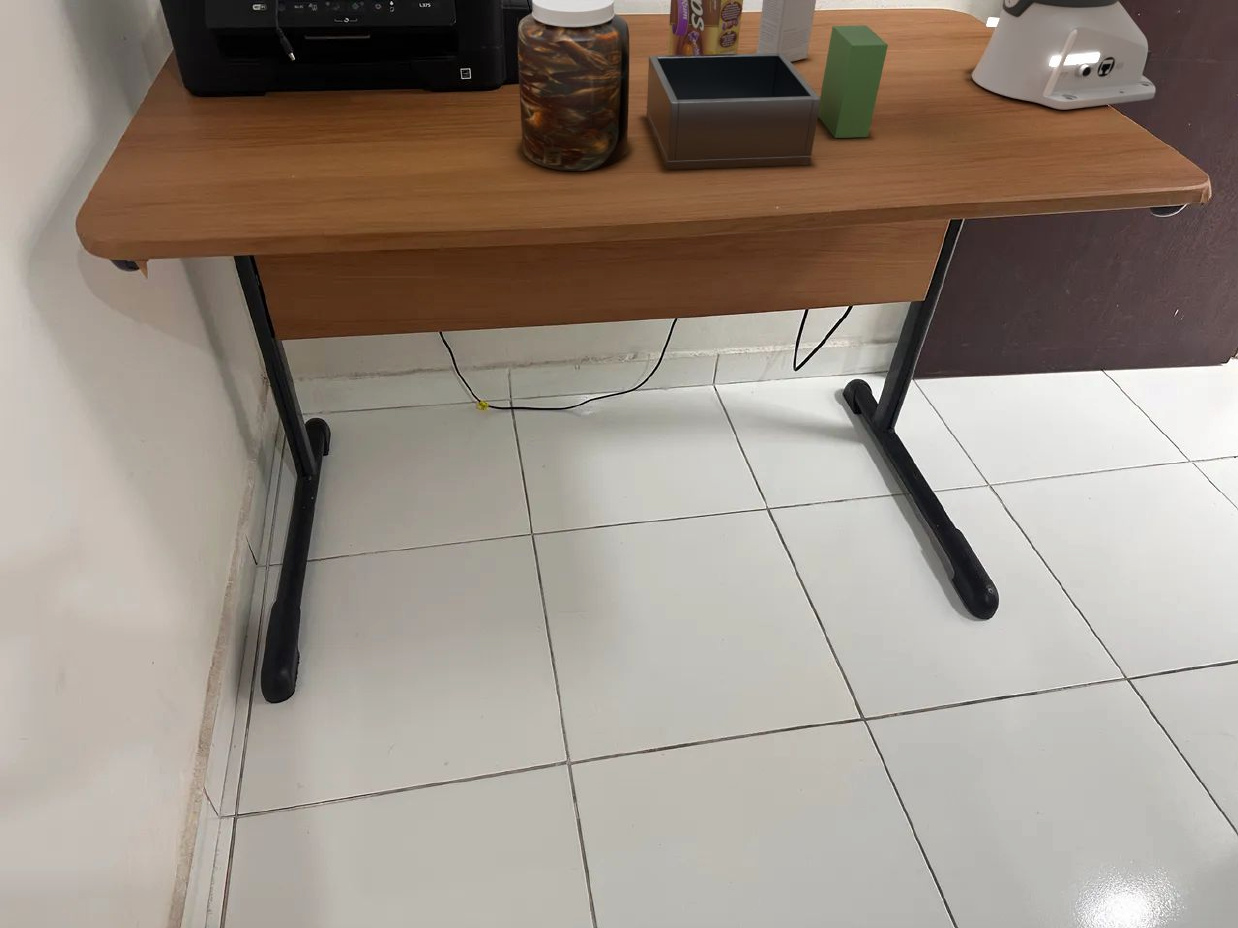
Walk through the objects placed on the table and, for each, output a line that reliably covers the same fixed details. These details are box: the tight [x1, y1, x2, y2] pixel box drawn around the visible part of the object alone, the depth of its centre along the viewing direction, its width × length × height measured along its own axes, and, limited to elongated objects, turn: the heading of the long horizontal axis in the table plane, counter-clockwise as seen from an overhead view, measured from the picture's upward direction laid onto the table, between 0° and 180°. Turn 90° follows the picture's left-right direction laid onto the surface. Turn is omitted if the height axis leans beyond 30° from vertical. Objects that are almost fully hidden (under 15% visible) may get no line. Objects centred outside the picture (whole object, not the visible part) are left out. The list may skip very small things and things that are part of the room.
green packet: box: [818, 24, 889, 139], centre depth 98 cm, size 4×7×10 cm, turn 7°
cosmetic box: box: [756, 0, 817, 63], centre depth 115 cm, size 6×4×12 cm
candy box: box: [667, 0, 744, 55], centre depth 107 cm, size 9×4×15 cm, turn 39°
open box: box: [646, 52, 821, 171], centre depth 95 cm, size 16×15×7 cm
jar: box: [517, 0, 631, 172], centre depth 90 cm, size 12×12×15 cm
